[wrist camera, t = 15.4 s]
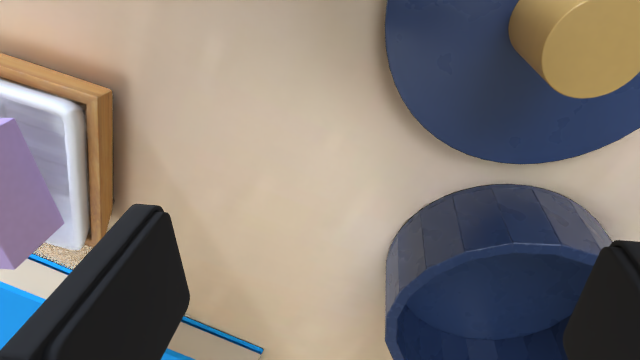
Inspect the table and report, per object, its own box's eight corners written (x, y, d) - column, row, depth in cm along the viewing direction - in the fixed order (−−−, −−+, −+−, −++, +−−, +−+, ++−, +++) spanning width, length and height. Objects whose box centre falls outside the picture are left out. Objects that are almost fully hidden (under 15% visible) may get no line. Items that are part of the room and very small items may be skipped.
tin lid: (388, -170, 19) (388, -207, 13) (815, -214, 16) (1037, -283, 11) (382, 154, 27) (380, 213, 22) (661, 157, 25) (740, 226, 19)
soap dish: (-18, 28, 26) (-96, 48, 22) (131, 76, 27) (82, 105, 23) (8, 183, 33) (-49, 221, 29) (126, 220, 34) (88, 263, 29)
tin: (388, 181, 28) (388, 237, 23) (641, 186, 26) (702, 251, 21) (384, 332, 36) (383, 399, 31) (576, 347, 34) (609, 421, 29)
